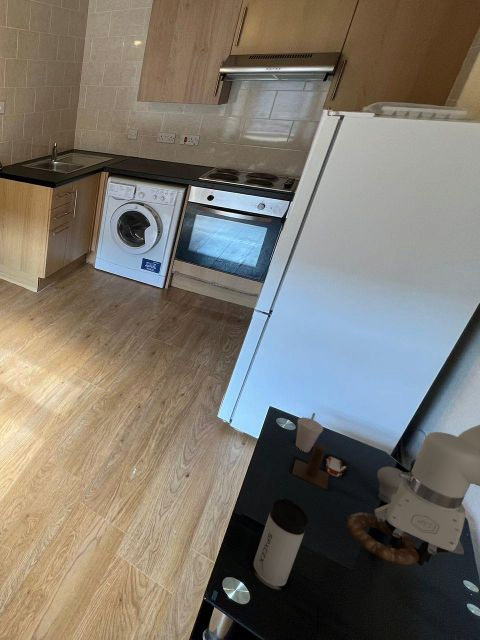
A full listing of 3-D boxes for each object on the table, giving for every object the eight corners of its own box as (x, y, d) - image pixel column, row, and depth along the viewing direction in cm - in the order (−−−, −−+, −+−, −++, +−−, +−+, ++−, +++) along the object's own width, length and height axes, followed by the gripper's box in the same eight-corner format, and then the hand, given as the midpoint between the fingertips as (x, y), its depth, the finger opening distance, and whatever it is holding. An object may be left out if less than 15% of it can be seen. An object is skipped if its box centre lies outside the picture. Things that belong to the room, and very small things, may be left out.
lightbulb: (370, 488, 118) (382, 458, 115) (400, 502, 114) (413, 471, 110) (367, 499, 114) (379, 468, 111) (397, 514, 110) (411, 483, 106)
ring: (414, 541, 93) (418, 532, 92) (418, 579, 85) (423, 569, 84) (347, 510, 100) (350, 501, 100) (344, 542, 93) (348, 533, 92)
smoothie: (288, 447, 133) (299, 411, 129) (292, 438, 137) (304, 403, 133) (312, 458, 128) (325, 422, 124) (316, 448, 132) (329, 413, 128)
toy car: (321, 470, 124) (324, 462, 123) (324, 457, 129) (327, 449, 128) (343, 481, 120) (346, 472, 119) (346, 466, 125) (349, 458, 124)
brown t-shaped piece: (328, 476, 122) (339, 446, 118) (326, 492, 116) (337, 461, 113) (295, 461, 127) (304, 432, 124) (291, 476, 121) (301, 446, 118)
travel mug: (282, 569, 95) (306, 504, 89) (286, 596, 90) (312, 528, 84) (251, 555, 98) (271, 492, 92) (253, 580, 93) (275, 514, 87)
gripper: (379, 477, 87) (356, 541, 93) (500, 527, 76) (465, 595, 82) (379, 458, 93) (356, 519, 98) (492, 502, 82) (460, 568, 87)
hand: (406, 553), depth 90 cm, fingers closed on ring, 3 cm apart
